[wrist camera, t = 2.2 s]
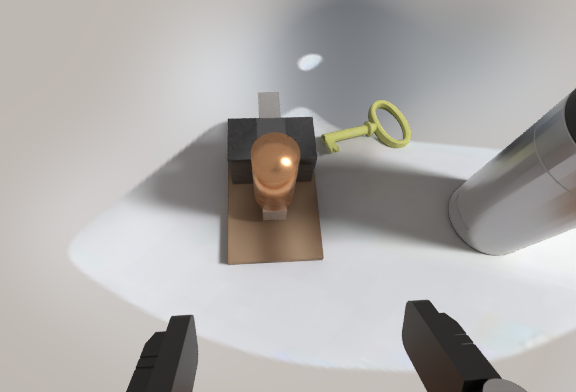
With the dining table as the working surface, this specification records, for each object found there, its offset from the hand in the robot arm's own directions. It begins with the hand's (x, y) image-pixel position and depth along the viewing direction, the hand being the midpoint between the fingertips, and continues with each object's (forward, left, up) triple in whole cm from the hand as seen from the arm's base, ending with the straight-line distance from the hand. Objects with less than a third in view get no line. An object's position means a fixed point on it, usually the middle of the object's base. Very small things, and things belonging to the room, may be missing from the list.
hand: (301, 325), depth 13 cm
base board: (0, -15, -23) cm, 27 cm away
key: (-13, -24, -23) cm, 36 cm away
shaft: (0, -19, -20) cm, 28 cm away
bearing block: (0, -19, -23) cm, 30 cm away
